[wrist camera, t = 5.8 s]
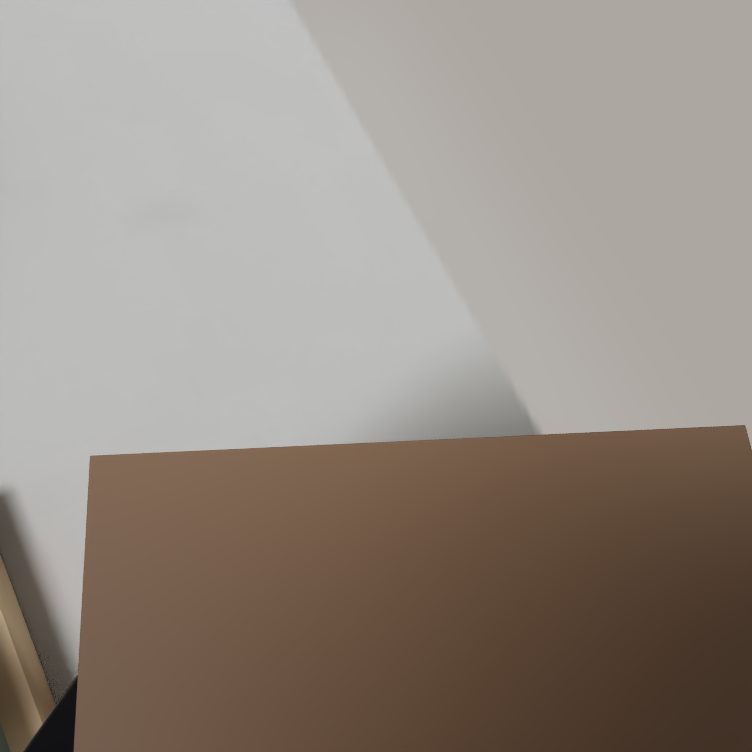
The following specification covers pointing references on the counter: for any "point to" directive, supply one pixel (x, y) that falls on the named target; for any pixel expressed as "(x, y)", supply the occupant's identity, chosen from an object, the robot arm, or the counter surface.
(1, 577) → the plinth
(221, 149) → the counter surface
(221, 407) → the counter surface
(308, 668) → the pillar
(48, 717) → the robot arm
